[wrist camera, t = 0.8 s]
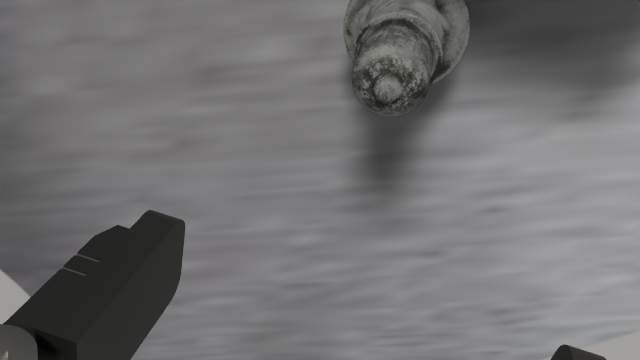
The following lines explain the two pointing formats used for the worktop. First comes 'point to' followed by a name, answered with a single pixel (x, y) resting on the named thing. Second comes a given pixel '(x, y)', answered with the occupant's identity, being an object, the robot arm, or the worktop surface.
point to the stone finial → (403, 49)
